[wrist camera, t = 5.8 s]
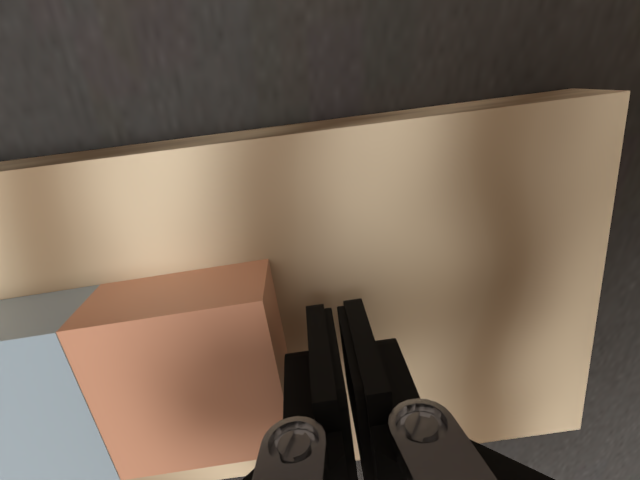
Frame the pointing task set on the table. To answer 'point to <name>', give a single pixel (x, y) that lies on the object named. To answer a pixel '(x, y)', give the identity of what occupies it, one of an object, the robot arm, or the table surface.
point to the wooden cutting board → (366, 238)
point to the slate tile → (45, 395)
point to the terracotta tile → (181, 366)
